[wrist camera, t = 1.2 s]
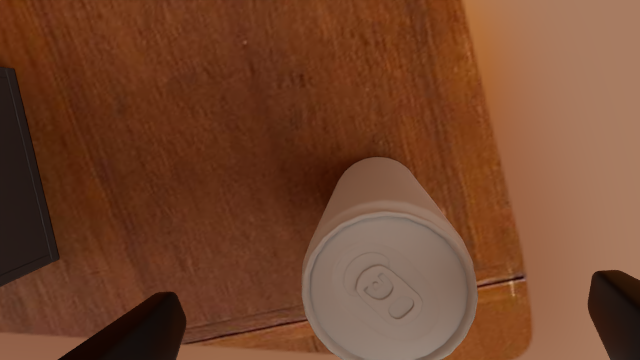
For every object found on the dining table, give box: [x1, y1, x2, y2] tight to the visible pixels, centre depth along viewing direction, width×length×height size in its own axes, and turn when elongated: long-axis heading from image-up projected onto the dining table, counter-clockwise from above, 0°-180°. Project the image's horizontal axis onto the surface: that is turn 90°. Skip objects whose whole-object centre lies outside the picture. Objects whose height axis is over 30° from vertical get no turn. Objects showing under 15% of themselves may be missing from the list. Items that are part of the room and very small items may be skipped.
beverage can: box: [302, 157, 478, 360], centre depth 16 cm, size 5×5×12 cm
